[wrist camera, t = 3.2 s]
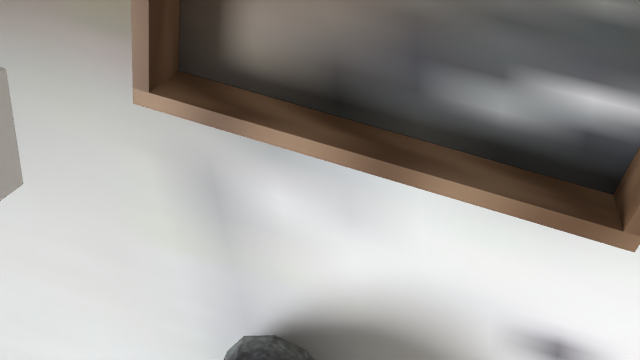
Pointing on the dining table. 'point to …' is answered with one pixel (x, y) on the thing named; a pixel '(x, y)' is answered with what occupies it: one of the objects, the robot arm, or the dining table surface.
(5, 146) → the robot arm
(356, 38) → the dining table surface
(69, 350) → the dining table surface
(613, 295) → the dining table surface
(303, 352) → the mortar and pestle
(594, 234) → the tray walnut
